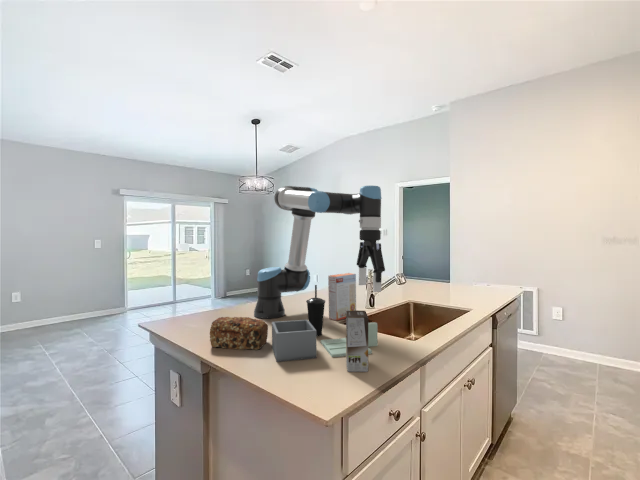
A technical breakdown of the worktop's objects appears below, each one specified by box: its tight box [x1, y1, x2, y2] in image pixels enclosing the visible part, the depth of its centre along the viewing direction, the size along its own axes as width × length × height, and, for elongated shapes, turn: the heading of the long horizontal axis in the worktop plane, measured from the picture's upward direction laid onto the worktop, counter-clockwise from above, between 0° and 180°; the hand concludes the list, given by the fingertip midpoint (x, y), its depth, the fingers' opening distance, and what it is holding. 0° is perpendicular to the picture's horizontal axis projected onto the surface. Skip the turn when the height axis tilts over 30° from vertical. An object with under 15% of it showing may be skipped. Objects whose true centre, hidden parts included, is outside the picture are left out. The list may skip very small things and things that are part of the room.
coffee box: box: [345, 309, 369, 373], centre depth 100 cm, size 9×6×16 cm
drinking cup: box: [306, 284, 326, 338], centre depth 131 cm, size 8×8×20 cm
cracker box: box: [327, 272, 357, 321], centre depth 158 cm, size 14×6×21 cm, turn 133°
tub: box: [271, 319, 317, 363], centre depth 111 cm, size 14×13×9 cm
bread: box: [209, 316, 269, 351], centre depth 119 cm, size 19×11×10 cm, turn 81°
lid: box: [320, 321, 379, 358], centre depth 116 cm, size 15×19×8 cm
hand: (369, 288), depth 118 cm, fingers open, 13 cm apart
